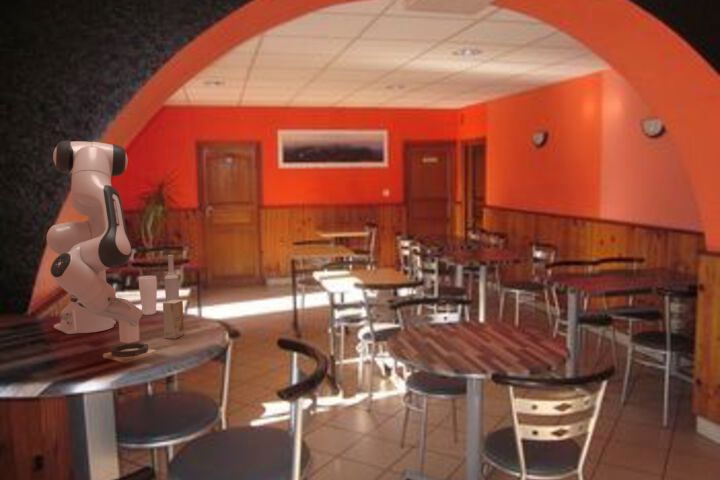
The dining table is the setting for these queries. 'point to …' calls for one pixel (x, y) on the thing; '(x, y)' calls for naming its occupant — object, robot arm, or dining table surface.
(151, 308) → the drinking glass
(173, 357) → the dining table surface
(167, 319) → the skincare box
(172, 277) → the bottle
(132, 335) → the carton
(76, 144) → the robot arm
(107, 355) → the board
